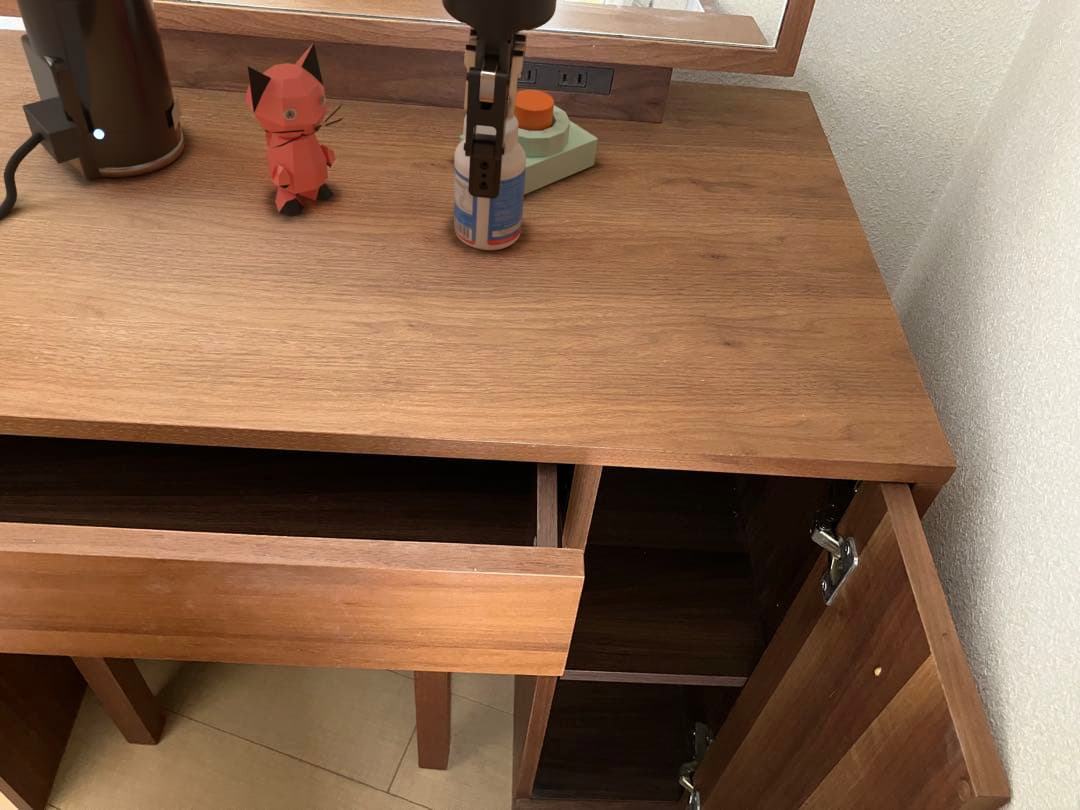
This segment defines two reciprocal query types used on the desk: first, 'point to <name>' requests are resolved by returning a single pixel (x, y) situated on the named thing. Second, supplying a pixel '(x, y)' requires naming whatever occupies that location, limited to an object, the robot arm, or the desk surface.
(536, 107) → the orange cylinder plug
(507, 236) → the pill bottle
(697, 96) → the desk surface
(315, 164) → the cat figurine
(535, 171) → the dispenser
